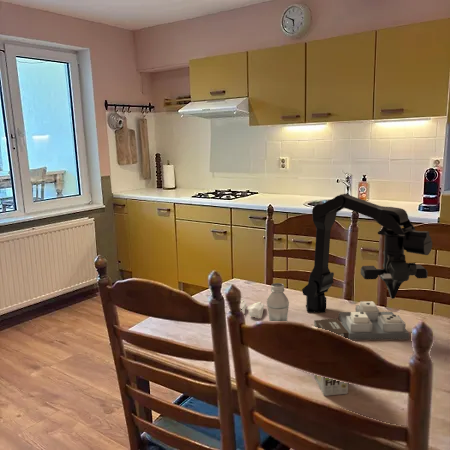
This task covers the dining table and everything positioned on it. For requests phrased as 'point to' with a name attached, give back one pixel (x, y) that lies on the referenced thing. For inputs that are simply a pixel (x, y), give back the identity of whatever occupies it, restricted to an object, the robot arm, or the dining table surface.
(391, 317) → the button three
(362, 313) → the button two
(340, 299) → the dining table surface
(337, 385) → the coffee box
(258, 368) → the dining table surface
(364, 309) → the button one
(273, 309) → the plastic bottle
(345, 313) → the panel
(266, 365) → the dining table surface
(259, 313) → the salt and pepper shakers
